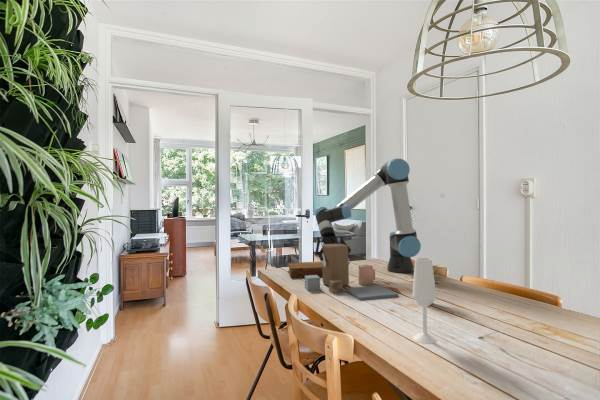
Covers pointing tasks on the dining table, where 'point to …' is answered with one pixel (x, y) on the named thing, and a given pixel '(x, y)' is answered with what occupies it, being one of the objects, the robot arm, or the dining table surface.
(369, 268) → the peach rounded cylinder
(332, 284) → the walnut cube
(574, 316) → the dining table surface
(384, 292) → the slate grey board
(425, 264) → the champagne flute
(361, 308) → the dining table surface
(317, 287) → the blue grey box
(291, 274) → the diary
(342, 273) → the wooden block
